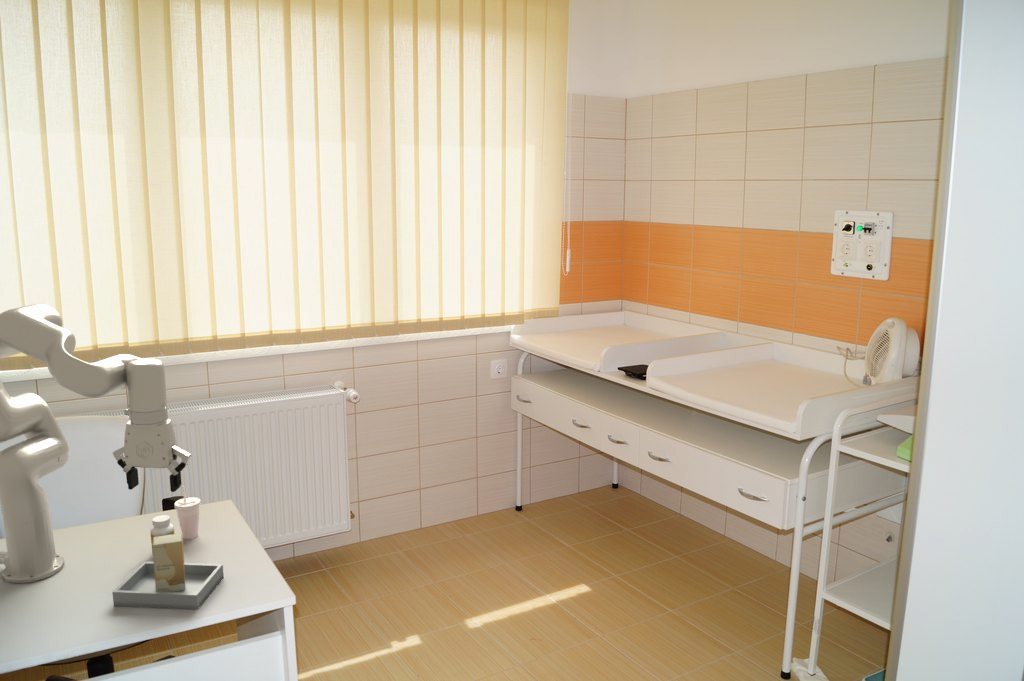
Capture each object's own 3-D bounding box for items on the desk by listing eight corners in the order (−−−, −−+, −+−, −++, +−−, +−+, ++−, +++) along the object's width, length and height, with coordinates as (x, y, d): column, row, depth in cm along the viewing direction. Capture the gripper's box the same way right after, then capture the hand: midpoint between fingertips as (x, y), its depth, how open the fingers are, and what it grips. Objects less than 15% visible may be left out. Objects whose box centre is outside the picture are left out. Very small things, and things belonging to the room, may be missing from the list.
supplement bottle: (167, 560, 193) (164, 524, 190) (148, 558, 194) (144, 522, 191) (180, 550, 198) (177, 514, 196) (161, 548, 199) (158, 512, 197)
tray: (113, 606, 172) (112, 592, 172) (145, 575, 186) (144, 561, 185) (198, 609, 171) (196, 595, 171) (223, 577, 185) (222, 564, 184)
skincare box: (155, 595, 175) (150, 545, 172) (156, 585, 179) (151, 536, 176) (186, 589, 177) (182, 540, 175) (186, 580, 181) (182, 532, 179)
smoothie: (181, 531, 208) (177, 481, 205) (206, 530, 209) (202, 481, 206) (174, 542, 202) (169, 491, 199) (199, 541, 202) (195, 490, 199)
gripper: (100, 418, 168) (107, 493, 171) (179, 422, 167) (184, 497, 170) (120, 408, 175) (126, 479, 179) (195, 412, 174) (199, 483, 178)
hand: (154, 488), depth 175 cm, fingers open, 9 cm apart
